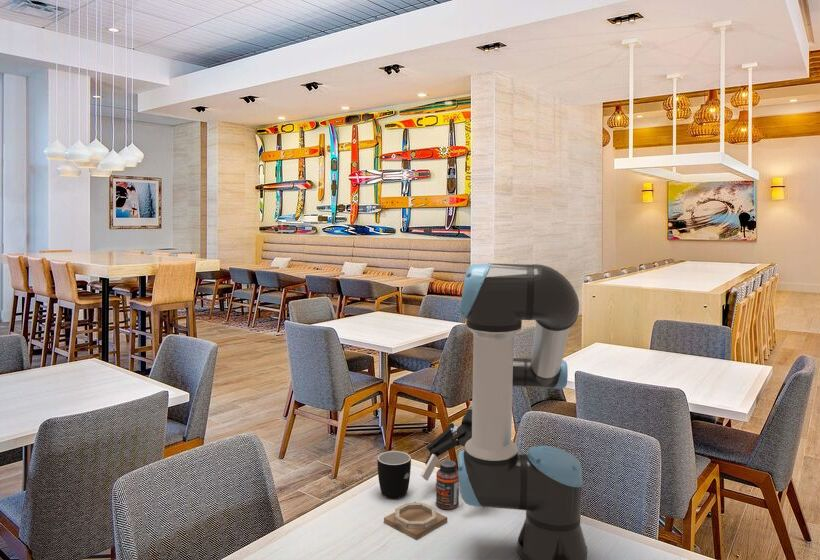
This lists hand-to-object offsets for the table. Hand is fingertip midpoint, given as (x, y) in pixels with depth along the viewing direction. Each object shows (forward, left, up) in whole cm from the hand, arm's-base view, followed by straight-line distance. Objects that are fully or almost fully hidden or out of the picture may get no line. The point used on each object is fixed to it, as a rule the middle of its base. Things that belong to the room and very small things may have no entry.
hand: (443, 486), depth 150 cm
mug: (+15, +3, -5) cm, 16 cm away
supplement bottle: (0, -1, -5) cm, 6 cm away
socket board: (0, +11, -5) cm, 12 cm away
